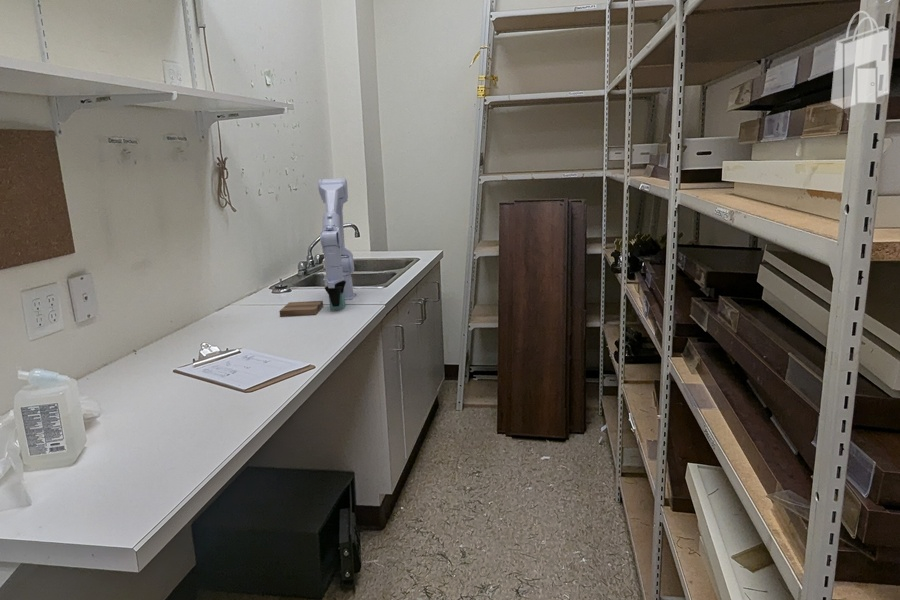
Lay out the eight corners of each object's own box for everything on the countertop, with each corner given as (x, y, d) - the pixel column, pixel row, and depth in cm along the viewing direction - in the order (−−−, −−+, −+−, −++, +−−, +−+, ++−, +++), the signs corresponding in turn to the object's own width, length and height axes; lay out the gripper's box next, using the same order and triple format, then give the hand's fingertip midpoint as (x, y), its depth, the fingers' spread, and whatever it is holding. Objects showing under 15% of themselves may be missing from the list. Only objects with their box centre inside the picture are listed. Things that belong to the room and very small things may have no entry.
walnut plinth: (289, 307, 204) (289, 302, 203) (323, 306, 204) (322, 300, 203) (280, 316, 192) (279, 311, 192) (315, 314, 192) (315, 309, 192)
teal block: (332, 307, 202) (331, 293, 201) (345, 306, 202) (344, 292, 201) (330, 310, 198) (328, 296, 197) (343, 309, 198) (341, 295, 197)
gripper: (326, 262, 203) (330, 299, 207) (317, 270, 189) (321, 309, 193) (346, 261, 203) (349, 298, 207) (338, 269, 189) (342, 308, 192)
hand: (337, 304), depth 200 cm, fingers open, 5 cm apart
